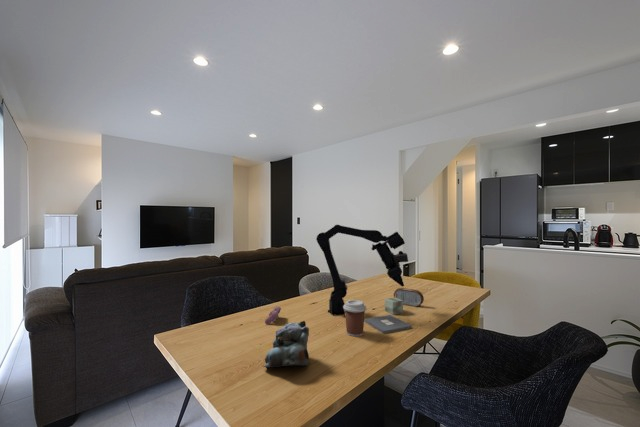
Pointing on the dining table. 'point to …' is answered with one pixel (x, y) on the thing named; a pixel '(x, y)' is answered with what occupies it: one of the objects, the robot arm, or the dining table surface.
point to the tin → (409, 296)
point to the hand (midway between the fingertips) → (402, 283)
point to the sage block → (393, 306)
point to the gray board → (387, 324)
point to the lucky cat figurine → (289, 346)
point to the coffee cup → (354, 317)
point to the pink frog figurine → (273, 315)
